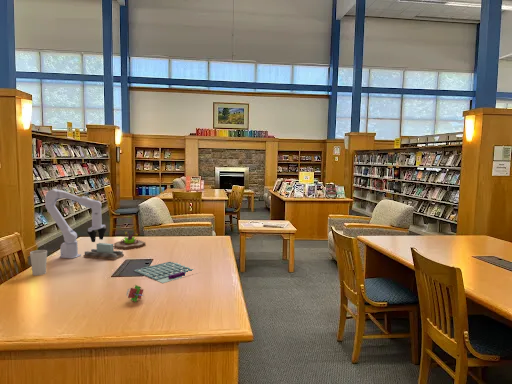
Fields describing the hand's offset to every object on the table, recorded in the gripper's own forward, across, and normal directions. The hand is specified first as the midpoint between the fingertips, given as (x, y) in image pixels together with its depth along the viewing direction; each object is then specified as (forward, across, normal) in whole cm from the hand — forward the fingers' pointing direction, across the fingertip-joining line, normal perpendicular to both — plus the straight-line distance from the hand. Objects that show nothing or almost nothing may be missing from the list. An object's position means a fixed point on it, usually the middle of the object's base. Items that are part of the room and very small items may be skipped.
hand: (97, 240), depth 233 cm
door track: (+9, -2, -6) cm, 11 cm away
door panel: (+8, -2, -7) cm, 11 cm away
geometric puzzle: (+10, -60, -65) cm, 89 cm away
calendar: (+10, -18, -60) cm, 63 cm away
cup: (+10, -41, +5) cm, 42 cm away
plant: (+10, +27, -5) cm, 30 cm away
